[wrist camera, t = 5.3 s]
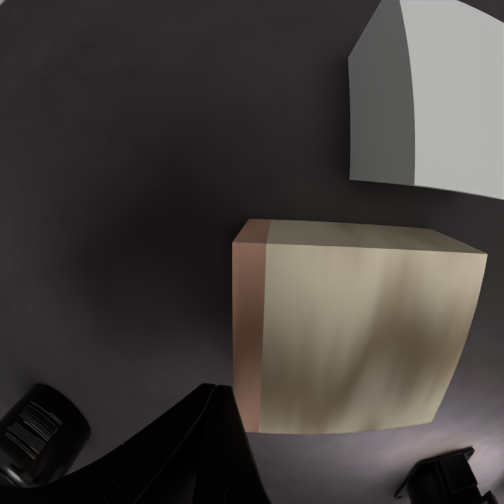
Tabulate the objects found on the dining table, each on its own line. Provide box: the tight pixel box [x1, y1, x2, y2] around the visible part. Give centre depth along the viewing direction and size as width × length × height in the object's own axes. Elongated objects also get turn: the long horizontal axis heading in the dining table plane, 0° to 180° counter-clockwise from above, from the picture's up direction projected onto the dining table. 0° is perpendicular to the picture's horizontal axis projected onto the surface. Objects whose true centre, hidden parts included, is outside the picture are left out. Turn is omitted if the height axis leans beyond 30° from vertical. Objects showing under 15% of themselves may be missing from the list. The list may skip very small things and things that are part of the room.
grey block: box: [348, 0, 504, 200], centre depth 8 cm, size 6×6×7 cm
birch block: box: [232, 219, 487, 434], centre depth 12 cm, size 8×5×9 cm
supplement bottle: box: [0, 386, 89, 488], centre depth 13 cm, size 7×7×12 cm
